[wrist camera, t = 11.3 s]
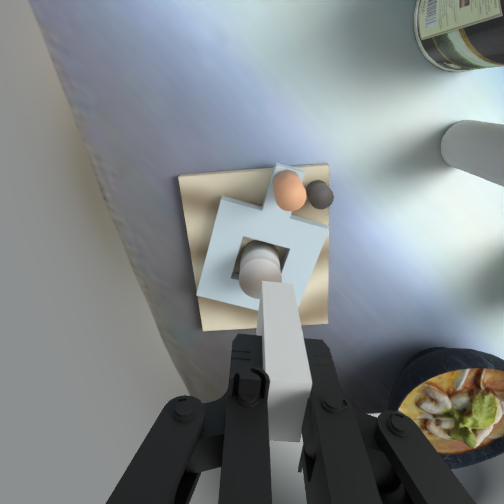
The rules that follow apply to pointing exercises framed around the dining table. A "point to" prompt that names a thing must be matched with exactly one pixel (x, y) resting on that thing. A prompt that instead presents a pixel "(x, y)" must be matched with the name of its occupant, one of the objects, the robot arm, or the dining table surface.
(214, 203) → the post base
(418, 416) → the bowl
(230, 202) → the flange plate
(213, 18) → the dining table surface
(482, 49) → the coffee can
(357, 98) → the dining table surface
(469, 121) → the beverage can
